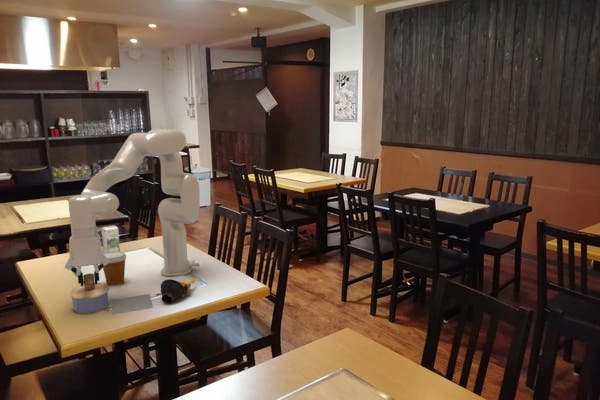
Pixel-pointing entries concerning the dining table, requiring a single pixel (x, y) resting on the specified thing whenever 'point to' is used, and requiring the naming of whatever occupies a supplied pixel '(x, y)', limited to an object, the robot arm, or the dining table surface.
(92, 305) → the bowl
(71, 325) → the dining table surface
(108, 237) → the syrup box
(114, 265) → the disposable coffee cup
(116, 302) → the mat
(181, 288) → the black dish with food
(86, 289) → the lid
